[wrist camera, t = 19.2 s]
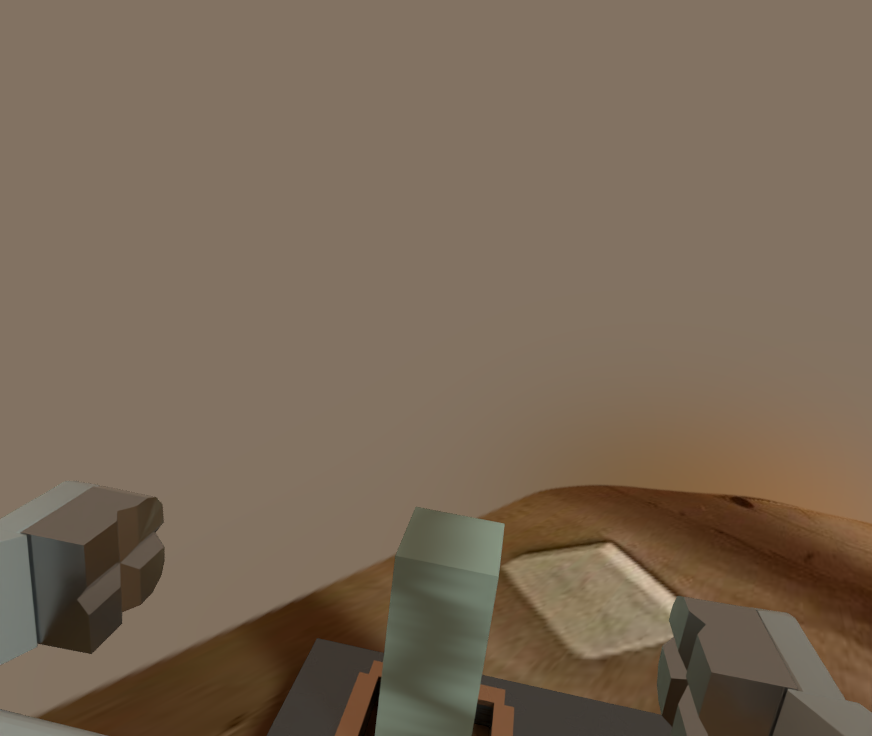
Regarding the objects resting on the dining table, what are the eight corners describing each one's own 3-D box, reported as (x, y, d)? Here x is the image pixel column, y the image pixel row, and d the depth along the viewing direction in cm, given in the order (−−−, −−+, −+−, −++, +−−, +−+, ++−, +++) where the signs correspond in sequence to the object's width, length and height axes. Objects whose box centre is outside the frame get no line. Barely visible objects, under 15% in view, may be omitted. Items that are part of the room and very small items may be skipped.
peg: (468, 739, 30) (504, 523, 27) (457, 816, 26) (498, 576, 23) (389, 720, 30) (415, 506, 27) (368, 793, 27) (395, 555, 23)
